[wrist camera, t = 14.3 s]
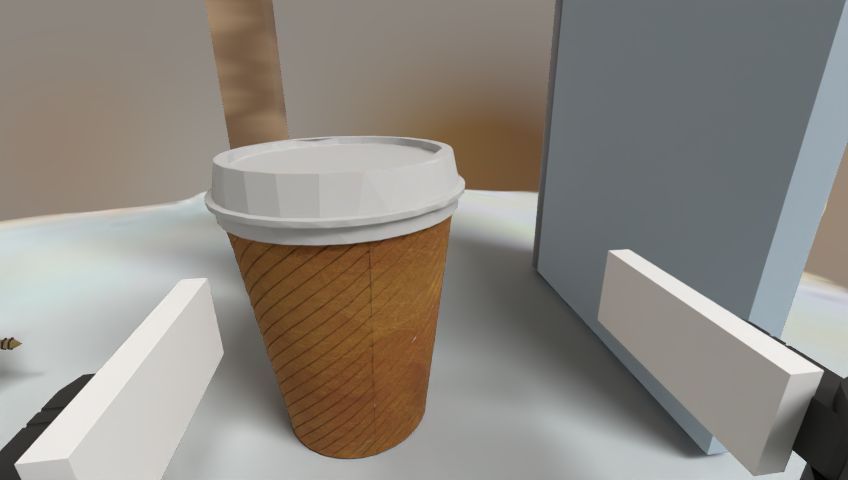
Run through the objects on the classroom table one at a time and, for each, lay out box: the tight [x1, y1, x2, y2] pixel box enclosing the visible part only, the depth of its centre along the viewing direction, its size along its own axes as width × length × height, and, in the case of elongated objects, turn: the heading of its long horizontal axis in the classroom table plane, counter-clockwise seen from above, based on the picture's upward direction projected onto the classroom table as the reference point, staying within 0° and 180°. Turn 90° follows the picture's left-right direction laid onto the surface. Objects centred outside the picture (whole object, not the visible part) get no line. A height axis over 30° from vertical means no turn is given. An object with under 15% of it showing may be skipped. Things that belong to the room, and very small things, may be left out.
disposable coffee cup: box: [204, 136, 465, 459], centre depth 18 cm, size 10×10×12 cm
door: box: [532, 0, 848, 455], centre depth 22 cm, size 19×4×20 cm, turn 8°
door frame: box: [205, 0, 289, 150], centre depth 28 cm, size 26×3×25 cm, turn 98°
